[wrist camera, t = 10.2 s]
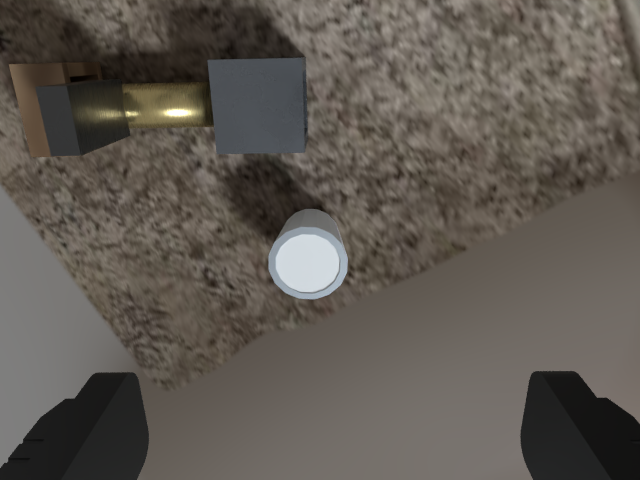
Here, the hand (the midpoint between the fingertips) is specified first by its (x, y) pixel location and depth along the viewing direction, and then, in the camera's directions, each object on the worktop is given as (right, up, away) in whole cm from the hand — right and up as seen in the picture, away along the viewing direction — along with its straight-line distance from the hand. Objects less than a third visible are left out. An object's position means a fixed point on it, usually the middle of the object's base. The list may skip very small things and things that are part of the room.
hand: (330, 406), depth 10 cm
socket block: (-21, +16, +33) cm, 42 cm away
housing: (-5, +16, +33) cm, 37 cm away
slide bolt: (-15, +15, +32) cm, 38 cm away
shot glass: (-1, +4, +38) cm, 38 cm away
